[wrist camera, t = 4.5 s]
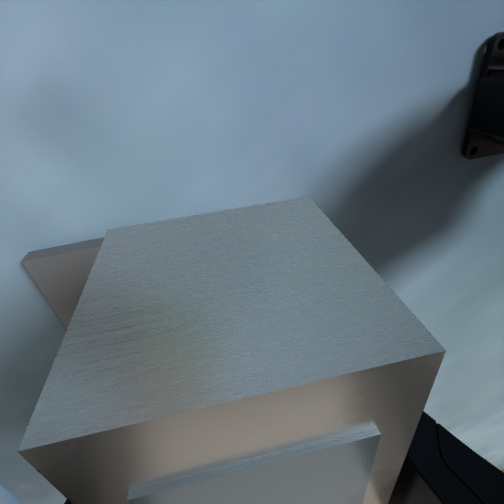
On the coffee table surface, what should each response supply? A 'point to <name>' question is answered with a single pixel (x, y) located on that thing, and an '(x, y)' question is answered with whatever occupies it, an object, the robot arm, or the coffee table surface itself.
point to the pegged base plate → (63, 274)
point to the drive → (233, 368)
